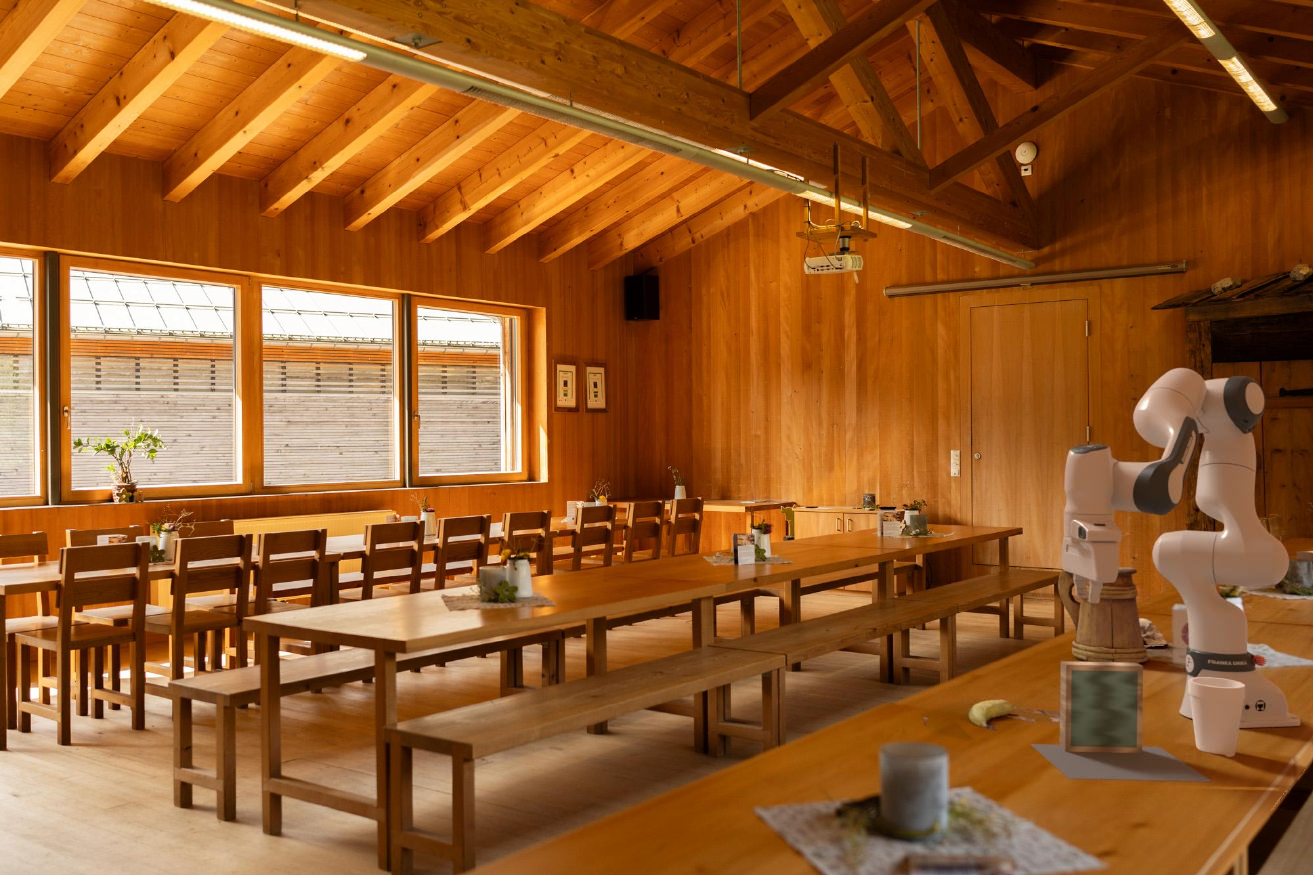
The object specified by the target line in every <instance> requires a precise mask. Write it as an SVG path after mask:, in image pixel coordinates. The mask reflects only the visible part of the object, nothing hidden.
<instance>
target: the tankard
mask: <svg viewBox="0 0 1313 875" xmlns="http://www.w3.org/2000/svg"><path fill="white" fill-rule="evenodd" d="M1137 573H1138V570H1137V569H1136V568H1134V567H1130V566H1129V567H1128V566H1127V567H1121V566H1118V576H1117V578H1116V581H1115V582H1112V583H1105V582H1103V587H1102V590H1101V593H1100V602H1099V603H1090V602H1088V597H1087V598H1085V599H1084V598H1080V602H1079V601H1078V600H1076V598H1075V597H1074V595H1073V588H1074V587H1075V584H1074V580H1073V573H1070V572H1067V571H1064V570H1063V568H1062V570H1061V571H1060V573H1059V576H1058V581H1057V583H1058V585H1057V588H1058V594H1059V597H1060V600H1061V602H1062V605H1063V606H1064V609H1065V610H1066V611H1067V613H1068V615H1069V616H1070V618H1071V620H1072V623H1073V626H1074V628H1075V637H1076V638H1075V639H1074V640H1073V641H1072V647H1071V653H1072V655H1073V656H1074V658H1076V659H1077V660H1080V661H1083V662H1123V663H1138V664H1140V663H1144V662H1147V661H1148V660H1149V657H1148V651H1147V647H1145V646H1144V644H1143V639H1142V634H1141V628H1140V622H1139V619H1140V615H1139V610H1138V609H1139V608H1138V605H1137V597H1138V595H1139V593H1138V589H1137V585H1136V584H1135V583H1134V580H1133V575H1135V574H1137ZM1085 581H1086V589H1087V590H1088V593H1089V590H1090V585H1089V579H1087V578H1086V580H1085ZM1088 593H1087V595H1088Z"/></svg>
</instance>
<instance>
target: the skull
mask: <svg viewBox="0 0 1313 875" xmlns="http://www.w3.org/2000/svg"><path fill="white" fill-rule="evenodd" d="M1139 622H1140V628H1141V634H1142V639H1143V644H1144V645H1168V646H1169V643H1168V642H1167V641H1166V640H1165V639H1164V634H1163V633H1161V632H1160V630H1159V629H1158V627H1157V626H1156V625H1153V622H1152V621H1151V620H1149V619H1148V618H1140V617H1139Z"/></svg>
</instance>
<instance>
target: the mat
mask: <svg viewBox="0 0 1313 875" xmlns="http://www.w3.org/2000/svg"><path fill="white" fill-rule="evenodd" d="M1029 745H1030V746H1032V748H1034V749H1035V750H1036V751H1037V752H1038V753H1039V754H1040V755H1042V756H1043V757H1044V758H1045V759H1046V760H1047V761H1048V762H1049V763H1051V764H1052V765H1053V766H1054V768H1056V769H1057V770H1058V771H1059V772H1060V773H1061V774H1063V775H1064V776H1065V777H1067V779H1068V780H1069V779H1071V780H1105V781H1106V780H1108V781H1109V780H1110V781H1113V780H1115V781H1153V782H1154V781H1156V782H1194V783H1195V782H1197V783H1200V782H1203V783H1204V782H1205V783H1213V780H1211V779H1209V778H1208V777H1207V776H1205V775H1203V774H1201V773H1200V772H1199V771H1197V770H1195V769H1194V768H1193V767H1191V766H1189V765H1188V764H1186V763H1184V762H1183V761H1182V760H1180V759H1179V758H1178V757H1176V756H1174V755H1172V753H1169V752H1168V751H1166V750H1165V749H1163V748H1162V747H1161V746H1143V745H1142V753H1115V752H1067V751H1064V750H1063V749H1062V748H1060V744H1049V743H1048V744H1046V743H1045V744H1044V743H1043V744H1041V743H1039V744H1038V743H1030V744H1029Z"/></svg>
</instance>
